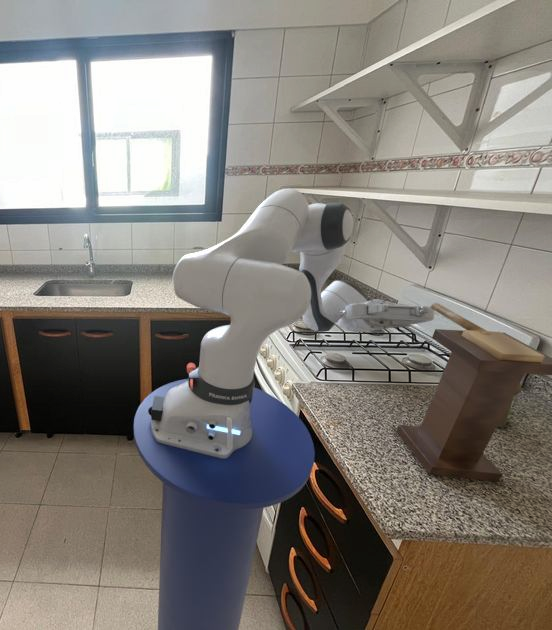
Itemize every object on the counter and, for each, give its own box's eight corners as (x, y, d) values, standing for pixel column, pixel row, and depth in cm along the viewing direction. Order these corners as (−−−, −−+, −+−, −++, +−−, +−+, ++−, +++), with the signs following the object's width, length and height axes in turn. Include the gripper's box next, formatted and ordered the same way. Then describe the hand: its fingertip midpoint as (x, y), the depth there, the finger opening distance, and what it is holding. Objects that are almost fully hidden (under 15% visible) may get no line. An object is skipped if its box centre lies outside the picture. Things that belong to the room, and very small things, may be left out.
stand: (429, 474, 68) (481, 360, 57) (396, 431, 78) (435, 328, 68) (498, 481, 66) (566, 365, 55) (455, 436, 77) (504, 332, 66)
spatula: (500, 360, 57) (504, 351, 56) (417, 307, 78) (419, 301, 77) (541, 362, 56) (546, 354, 56) (447, 309, 77) (449, 302, 76)
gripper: (336, 302, 102) (360, 294, 88) (412, 305, 99) (449, 298, 85) (336, 323, 101) (361, 319, 88) (413, 327, 98) (450, 323, 85)
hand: (405, 308), depth 87 cm, fingers open, 8 cm apart
